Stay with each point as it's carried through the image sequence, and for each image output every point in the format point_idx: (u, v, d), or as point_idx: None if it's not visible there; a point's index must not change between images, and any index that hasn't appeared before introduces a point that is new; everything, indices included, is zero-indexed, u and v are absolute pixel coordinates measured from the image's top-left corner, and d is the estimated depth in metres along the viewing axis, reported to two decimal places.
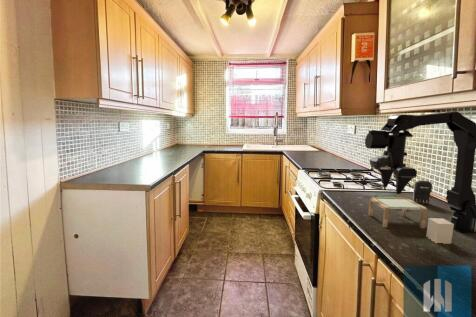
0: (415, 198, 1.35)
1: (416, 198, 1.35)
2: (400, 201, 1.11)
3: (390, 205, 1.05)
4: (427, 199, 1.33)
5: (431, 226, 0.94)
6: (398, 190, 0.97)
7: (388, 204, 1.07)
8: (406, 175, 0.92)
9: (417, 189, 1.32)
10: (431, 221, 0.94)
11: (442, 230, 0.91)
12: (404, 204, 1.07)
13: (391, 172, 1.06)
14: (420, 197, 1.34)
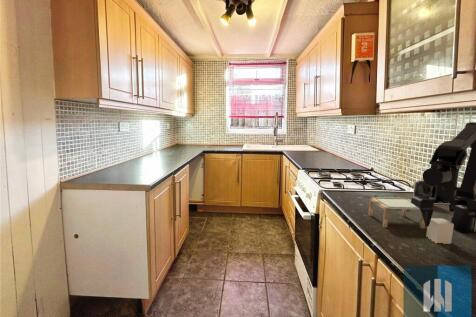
0: None
1: None
2: (400, 201, 1.11)
3: (390, 205, 1.05)
4: None
5: (431, 226, 0.94)
6: (424, 221, 0.94)
7: (388, 204, 1.07)
8: (414, 203, 0.93)
9: (417, 189, 1.32)
10: (431, 221, 0.94)
11: (442, 230, 0.91)
12: (404, 204, 1.07)
13: (462, 212, 0.90)
14: None
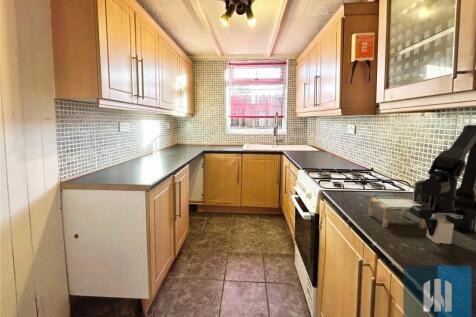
0: (415, 198, 1.35)
1: (416, 198, 1.35)
2: (400, 201, 1.11)
3: (390, 205, 1.05)
4: None
5: None
6: (429, 231, 0.94)
7: (388, 204, 1.07)
8: (413, 213, 0.94)
9: (417, 189, 1.32)
10: None
11: (442, 230, 0.91)
12: (404, 204, 1.07)
13: (454, 222, 0.91)
14: None
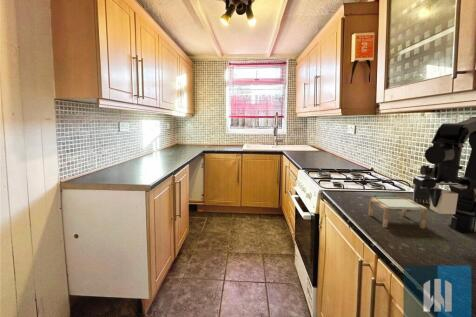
0: (415, 198, 1.35)
1: (416, 198, 1.35)
2: (400, 201, 1.11)
3: (390, 205, 1.05)
4: (427, 199, 1.33)
5: None
6: (432, 202, 0.93)
7: (388, 204, 1.07)
8: (416, 183, 0.92)
9: (417, 189, 1.32)
10: None
11: (446, 200, 0.89)
12: (404, 204, 1.07)
13: (459, 192, 0.89)
14: (420, 197, 1.34)
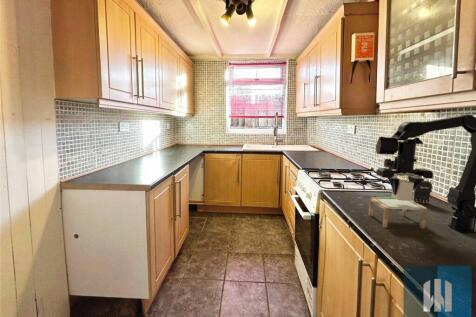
0: (415, 198, 1.35)
1: (416, 198, 1.35)
2: (400, 201, 1.11)
3: (390, 205, 1.05)
4: (427, 199, 1.33)
5: None
6: (393, 190, 1.06)
7: (388, 204, 1.07)
8: (378, 174, 1.06)
9: (417, 189, 1.32)
10: None
11: (403, 188, 1.03)
12: (404, 204, 1.07)
13: (414, 181, 1.03)
14: (420, 197, 1.34)
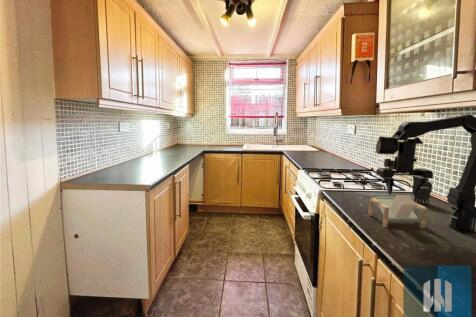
0: (415, 198, 1.35)
1: (416, 198, 1.35)
2: None
3: (388, 214, 1.07)
4: (427, 199, 1.33)
5: (396, 202, 1.06)
6: (388, 190, 1.07)
7: None
8: (378, 174, 1.06)
9: None
10: (397, 198, 1.05)
11: (403, 208, 1.03)
12: None
13: (419, 181, 1.03)
14: (420, 197, 1.34)
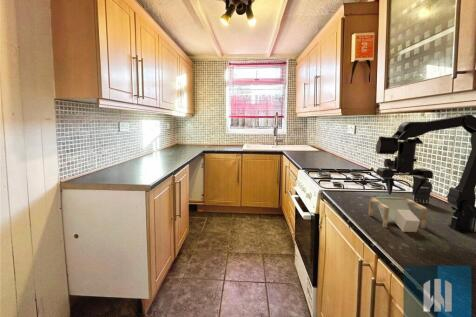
0: (415, 198, 1.35)
1: (416, 198, 1.35)
2: (399, 206, 1.11)
3: None
4: (427, 199, 1.33)
5: (401, 221, 1.02)
6: (388, 190, 1.07)
7: None
8: (378, 174, 1.06)
9: None
10: (404, 222, 1.00)
11: None
12: None
13: (419, 181, 1.03)
14: (420, 197, 1.34)
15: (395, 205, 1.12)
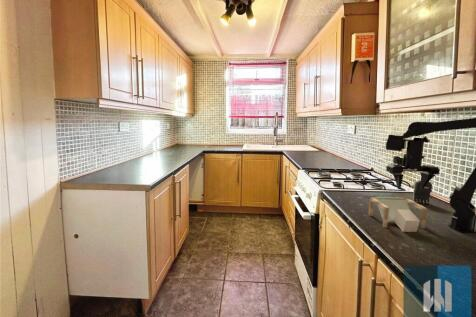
0: (415, 198, 1.35)
1: (416, 198, 1.35)
2: (399, 206, 1.11)
3: None
4: (427, 199, 1.33)
5: (401, 221, 1.02)
6: (397, 185, 1.14)
7: None
8: (388, 170, 1.14)
9: (417, 189, 1.32)
10: (404, 222, 1.00)
11: None
12: None
13: (427, 177, 1.11)
14: (420, 197, 1.34)
15: (395, 205, 1.12)
